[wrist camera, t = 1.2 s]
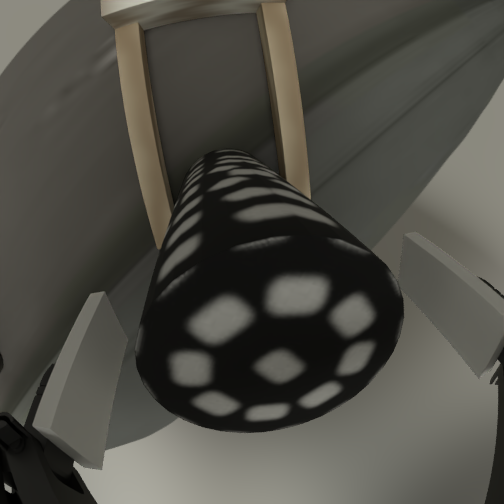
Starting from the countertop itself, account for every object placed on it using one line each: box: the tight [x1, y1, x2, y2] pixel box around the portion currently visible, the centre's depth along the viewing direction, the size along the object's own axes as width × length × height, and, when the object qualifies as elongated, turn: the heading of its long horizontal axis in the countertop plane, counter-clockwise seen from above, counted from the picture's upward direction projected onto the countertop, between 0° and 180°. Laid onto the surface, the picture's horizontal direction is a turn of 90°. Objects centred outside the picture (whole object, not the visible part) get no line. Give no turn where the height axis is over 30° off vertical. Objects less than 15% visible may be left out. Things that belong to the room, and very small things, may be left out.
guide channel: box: [101, 0, 311, 249], centre depth 19 cm, size 14×22×6 cm, turn 8°
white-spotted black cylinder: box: [135, 149, 404, 433], centre depth 17 cm, size 8×8×20 cm
